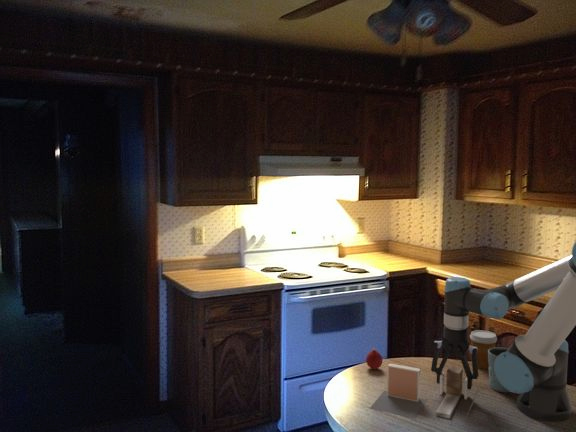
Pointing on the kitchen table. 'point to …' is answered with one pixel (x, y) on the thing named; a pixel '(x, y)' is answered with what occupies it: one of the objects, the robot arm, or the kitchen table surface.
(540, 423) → the kitchen table surface
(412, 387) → the tile
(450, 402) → the tan l-shaped piece
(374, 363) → the onion
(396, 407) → the mat
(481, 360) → the disposable coffee cup
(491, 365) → the grey-green hollow open cylinder
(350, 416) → the kitchen table surface
